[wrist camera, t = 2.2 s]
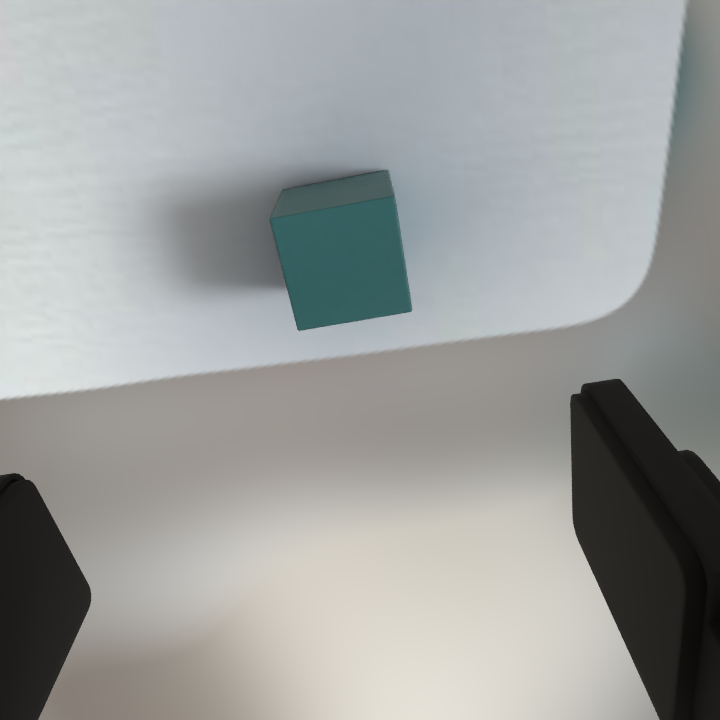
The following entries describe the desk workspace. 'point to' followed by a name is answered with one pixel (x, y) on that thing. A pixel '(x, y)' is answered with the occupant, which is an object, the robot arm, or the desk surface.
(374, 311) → the key block
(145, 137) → the desk surface
